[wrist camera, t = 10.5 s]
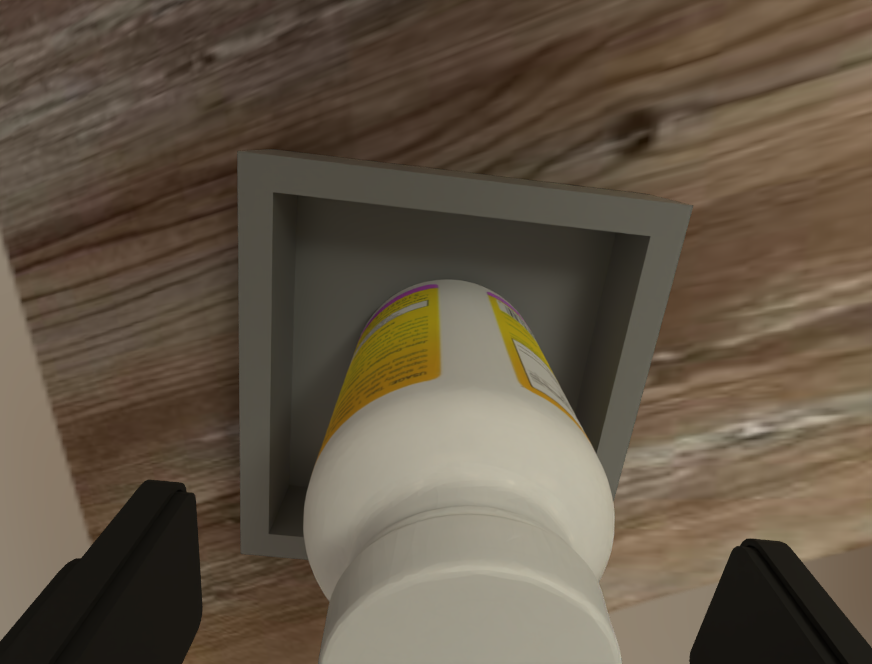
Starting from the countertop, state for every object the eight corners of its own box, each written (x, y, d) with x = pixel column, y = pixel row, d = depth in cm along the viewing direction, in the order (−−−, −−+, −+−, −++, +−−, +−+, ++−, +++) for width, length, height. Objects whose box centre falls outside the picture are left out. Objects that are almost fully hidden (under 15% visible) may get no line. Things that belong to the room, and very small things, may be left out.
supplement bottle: (344, 420, 21) (222, 799, 9) (374, 256, 19) (269, 463, 7) (509, 452, 22) (607, 852, 9) (557, 296, 19) (764, 555, 7)
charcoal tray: (272, 149, 18) (237, 150, 15) (647, 194, 19) (693, 205, 15) (268, 494, 23) (240, 553, 20) (568, 522, 23) (591, 585, 20)
